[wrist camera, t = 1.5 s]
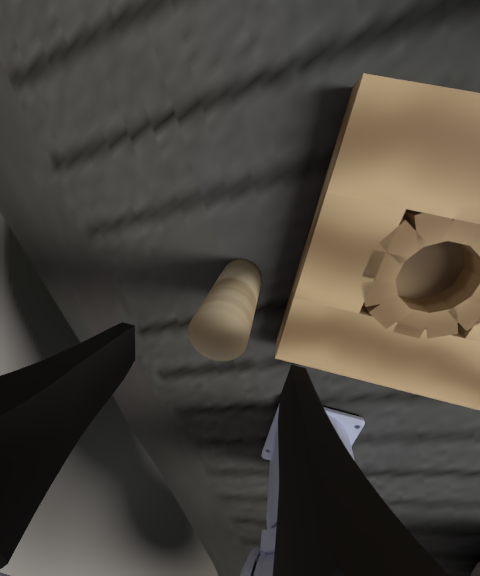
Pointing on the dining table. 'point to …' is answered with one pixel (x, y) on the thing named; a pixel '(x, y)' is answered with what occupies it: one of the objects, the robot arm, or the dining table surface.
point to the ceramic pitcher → (476, 570)
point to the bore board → (395, 246)
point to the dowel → (227, 312)
